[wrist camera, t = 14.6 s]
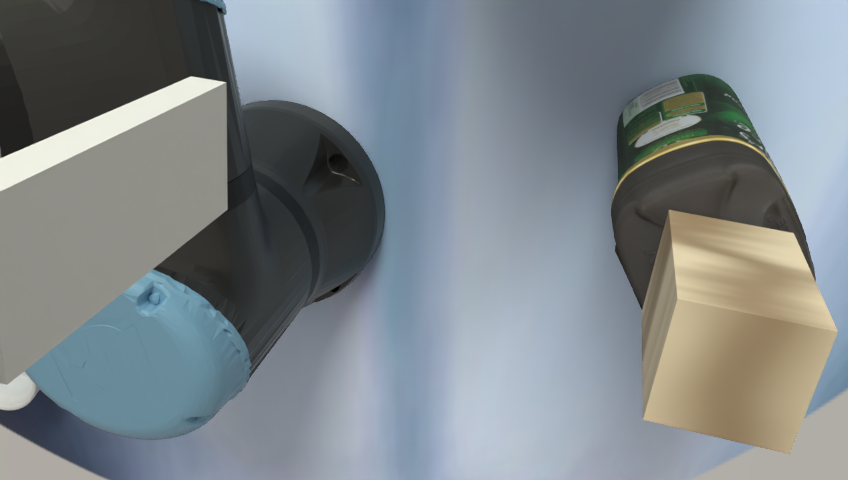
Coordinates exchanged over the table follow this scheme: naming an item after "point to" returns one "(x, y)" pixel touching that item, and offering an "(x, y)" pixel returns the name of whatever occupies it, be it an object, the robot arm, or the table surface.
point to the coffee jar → (691, 170)
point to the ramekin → (17, 393)
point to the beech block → (732, 332)
